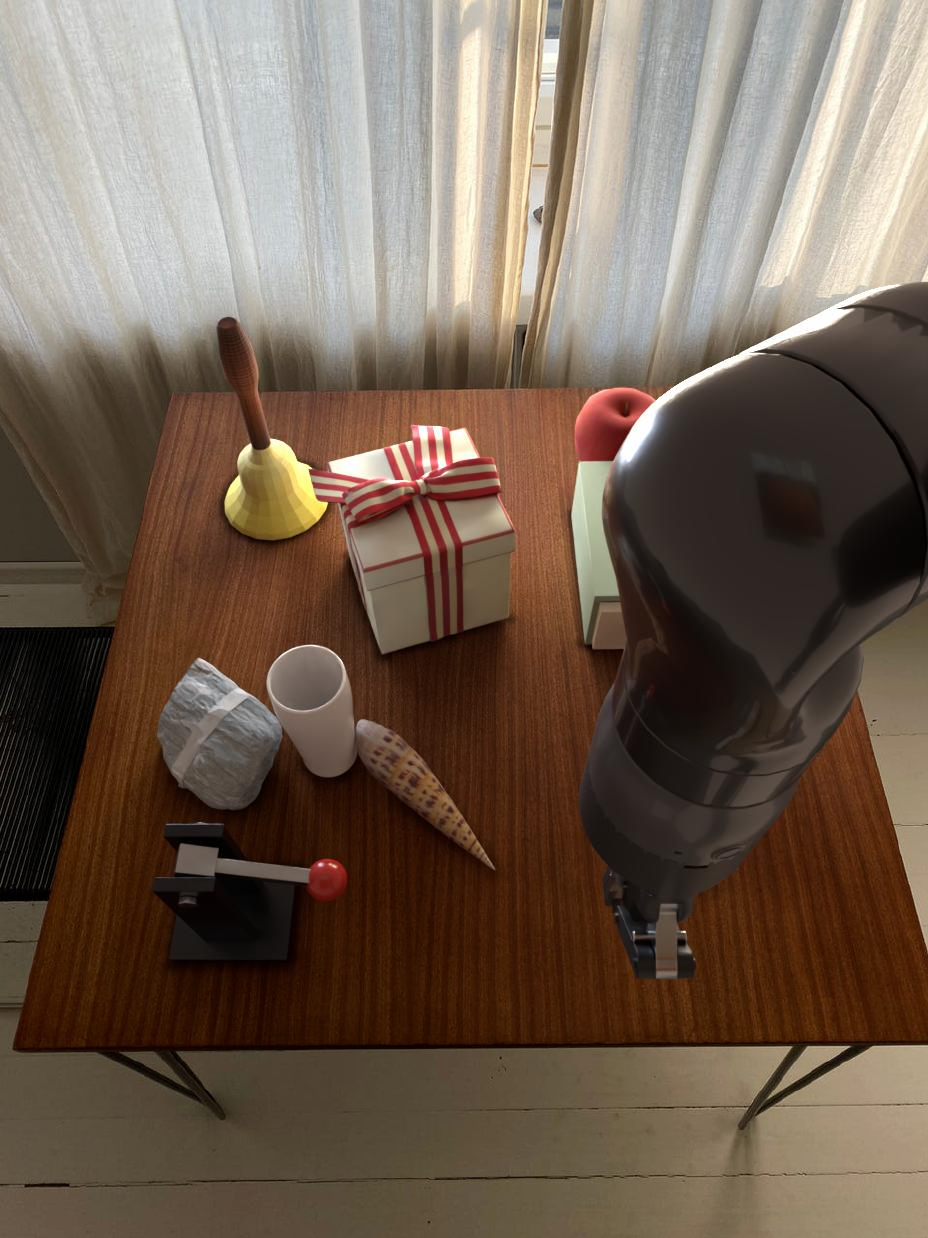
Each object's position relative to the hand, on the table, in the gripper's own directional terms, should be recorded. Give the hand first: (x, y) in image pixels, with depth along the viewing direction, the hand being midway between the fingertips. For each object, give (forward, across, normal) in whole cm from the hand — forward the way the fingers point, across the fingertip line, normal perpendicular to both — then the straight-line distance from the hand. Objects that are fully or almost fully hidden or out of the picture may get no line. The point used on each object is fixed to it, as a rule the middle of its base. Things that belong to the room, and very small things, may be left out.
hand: (622, 894), depth 48 cm
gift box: (+29, -43, -14) cm, 54 cm away
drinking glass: (+29, -22, -22) cm, 43 cm away
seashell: (+29, -17, -13) cm, 36 cm away
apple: (+29, -58, +9) cm, 66 cm away
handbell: (+29, -55, -31) cm, 69 cm away
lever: (+18, -7, -25) cm, 32 cm away
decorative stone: (+29, -23, -32) cm, 49 cm away
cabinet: (+29, -43, +10) cm, 53 cm away
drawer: (+28, -39, +11) cm, 50 cm away
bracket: (+29, -7, -29) cm, 41 cm away
